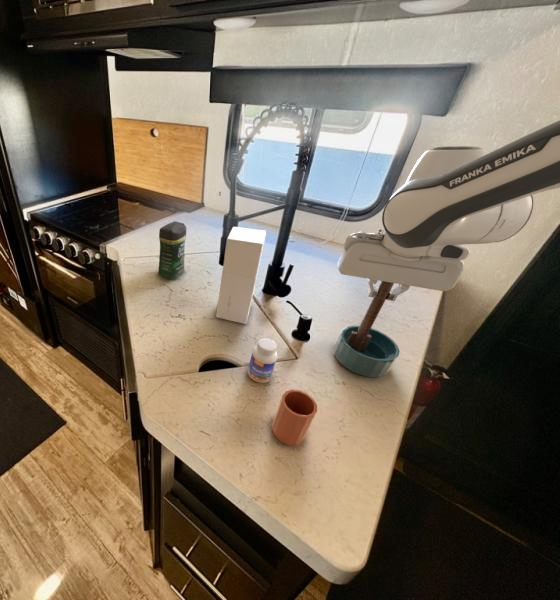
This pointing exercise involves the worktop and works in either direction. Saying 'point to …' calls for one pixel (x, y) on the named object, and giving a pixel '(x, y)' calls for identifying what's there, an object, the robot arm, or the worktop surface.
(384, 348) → the bowl
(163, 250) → the coffee jar
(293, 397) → the crock
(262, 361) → the pill bottle
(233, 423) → the worktop surface
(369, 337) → the stick
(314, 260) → the worktop surface
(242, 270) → the tall white carton
